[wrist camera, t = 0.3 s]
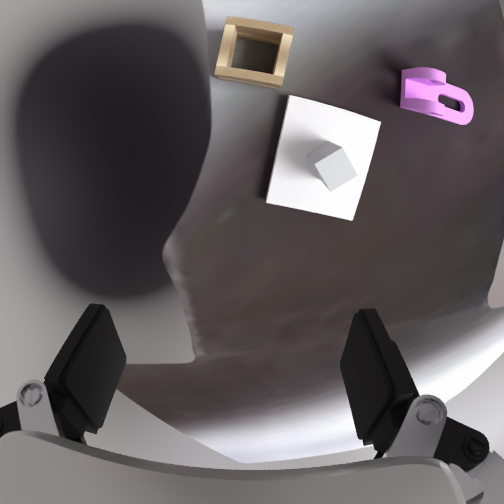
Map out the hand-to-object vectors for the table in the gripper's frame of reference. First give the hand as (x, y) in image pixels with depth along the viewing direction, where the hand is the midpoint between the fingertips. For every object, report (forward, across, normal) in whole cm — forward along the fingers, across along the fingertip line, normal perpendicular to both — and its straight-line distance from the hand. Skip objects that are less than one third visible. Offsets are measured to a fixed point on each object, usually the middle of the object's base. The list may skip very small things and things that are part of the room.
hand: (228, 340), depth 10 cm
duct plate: (+29, -10, -2) cm, 31 cm away
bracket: (+30, -27, -13) cm, 42 cm away
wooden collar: (+29, -1, -15) cm, 33 cm away
